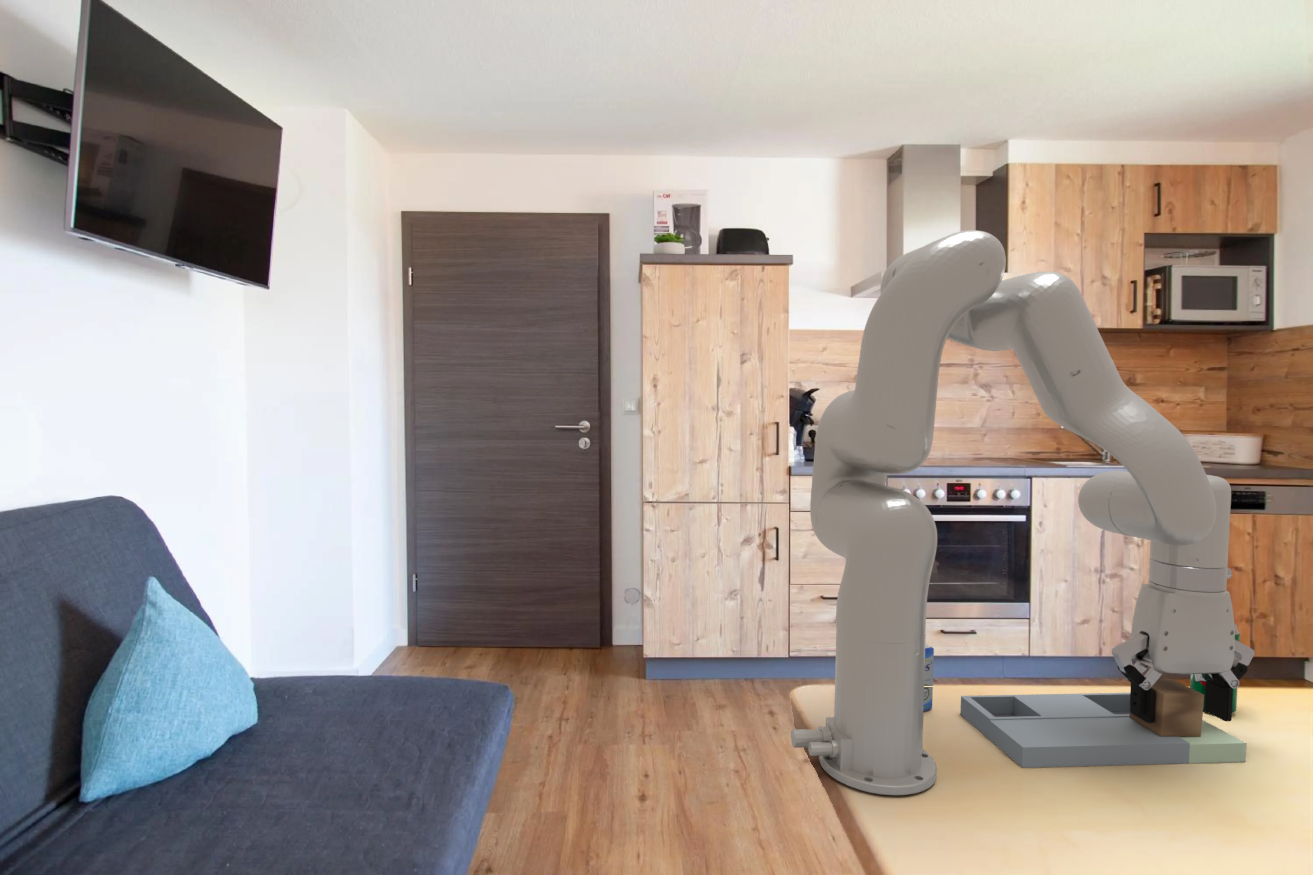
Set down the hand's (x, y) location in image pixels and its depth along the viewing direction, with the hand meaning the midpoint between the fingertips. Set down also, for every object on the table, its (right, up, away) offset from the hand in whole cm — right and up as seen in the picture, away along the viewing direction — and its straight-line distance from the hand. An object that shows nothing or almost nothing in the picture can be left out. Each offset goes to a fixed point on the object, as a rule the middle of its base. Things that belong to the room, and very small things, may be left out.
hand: (1180, 717), depth 87 cm
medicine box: (-31, -3, +10) cm, 32 cm away
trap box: (-9, -3, +2) cm, 10 cm away
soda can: (+12, -3, +11) cm, 17 cm away
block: (-2, -1, 0) cm, 2 cm away
